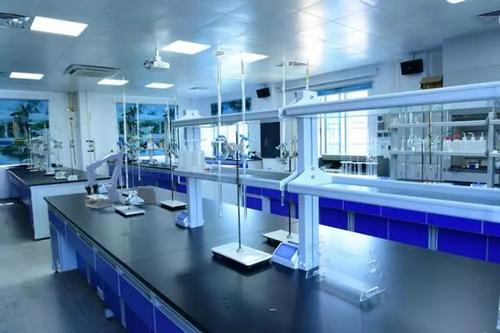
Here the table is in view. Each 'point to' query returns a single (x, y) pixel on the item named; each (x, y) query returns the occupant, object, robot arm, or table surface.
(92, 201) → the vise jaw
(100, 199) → the brass block
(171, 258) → the table surface
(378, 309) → the table surface
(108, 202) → the vise bed
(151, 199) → the geiger counter
